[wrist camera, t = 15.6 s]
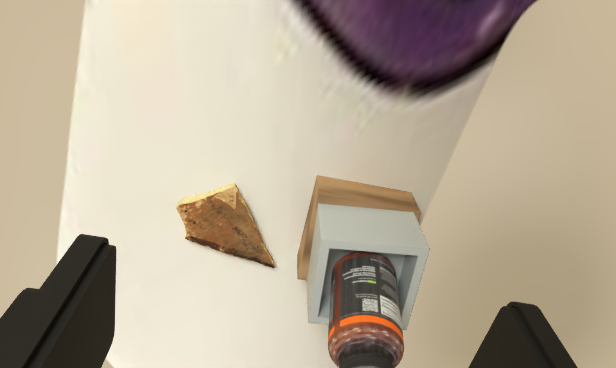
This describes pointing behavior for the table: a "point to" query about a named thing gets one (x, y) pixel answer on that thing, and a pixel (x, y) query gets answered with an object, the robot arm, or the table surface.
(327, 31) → the table surface
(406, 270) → the tower top
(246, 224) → the shard
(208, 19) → the table surface
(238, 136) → the table surface
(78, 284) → the robot arm
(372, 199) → the tower bottom
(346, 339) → the supplement bottle
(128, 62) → the table surface
